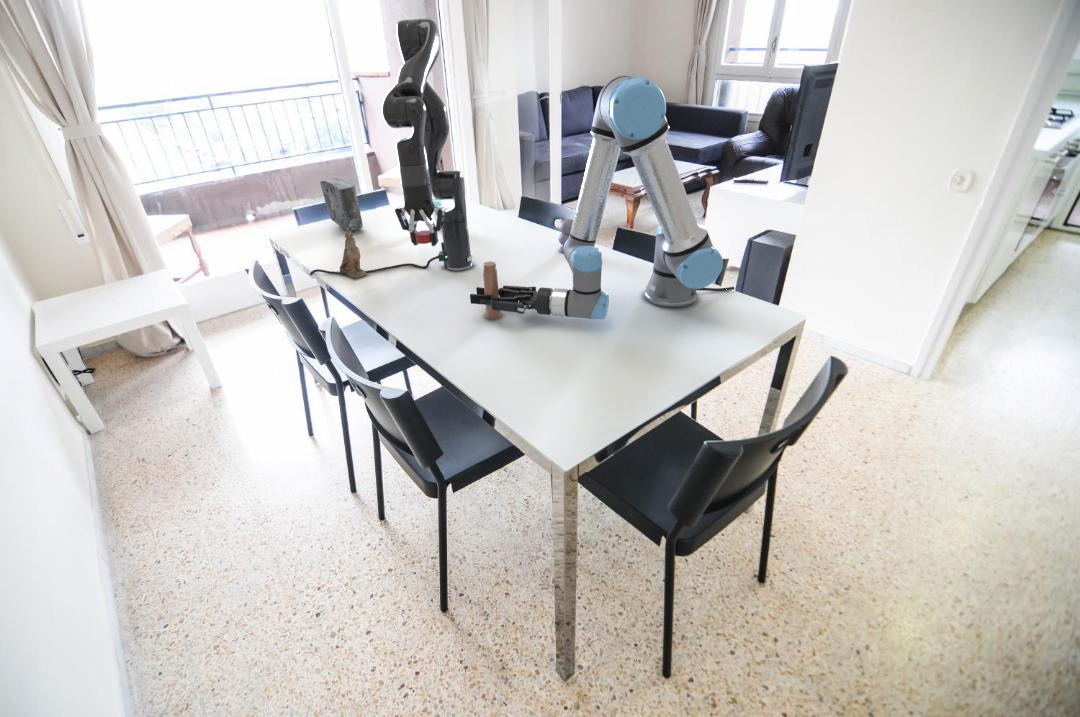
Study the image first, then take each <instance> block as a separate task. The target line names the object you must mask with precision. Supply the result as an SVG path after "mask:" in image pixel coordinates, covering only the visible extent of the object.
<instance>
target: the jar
mask: <svg viewBox="0 0 1080 717" xmlns="http://www.w3.org/2000/svg"><path fill="white" fill-rule="evenodd" d="M482 266H483V268H482V269H483V270H482V280H483V288H484V293H485V295H493V297H499V290H498V289H499V278H498V277H499V276H498V269H497V264H496V261H495V262H494V261H485V262H484V263H483V264H482ZM485 315H486V318H487V319H488V320H497V319H499V318H500V317H501V311H499V310H492V308H491V305H485Z"/></svg>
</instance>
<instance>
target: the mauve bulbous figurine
mask: <svg viewBox="0 0 1080 717" xmlns="http://www.w3.org/2000/svg"><path fill="white" fill-rule="evenodd" d="M559 221H560V225H559V229H560V232H561V233H560V234H559V235H558V243H559V244H560V245H561V246H560V252H561V253H563V254H564V244H565V242H566V241H567V240H568V239H569V236H570V232H571V228H572V224H573V219H571V218H568V219H563V218H559Z"/></svg>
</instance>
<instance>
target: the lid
mask: <svg viewBox="0 0 1080 717" xmlns="http://www.w3.org/2000/svg"><path fill="white" fill-rule="evenodd" d="M430 233H431V232H430V230H420V231H419V230H418V231H417V232H416V233H415V239H416V243H419V244H420V245H426V244H431V238H430ZM419 244H418V245H419Z"/></svg>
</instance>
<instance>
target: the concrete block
mask: <svg viewBox="0 0 1080 717" xmlns="http://www.w3.org/2000/svg"><path fill="white" fill-rule="evenodd" d="M319 183H320V187H321V191H322V195H323V198H324V199H323V200H324V202H325V206H326V209H327V212H328V216H329V218H330V220H332V221H333V222H334V223H336V224H337V225H338V226H339V227H341V228H342V229H343V230H345V231H348V230H350V231H352V232H353V231H354V230H358V229H361V228H363V227H364V224H363V218H362V214H361V210H360V205H359V204H360V203H359V200H358V195H357V194H358V193H357V189H356V186H355V185H354V184H353V183H351V182H350V181H347V180H345V179H341V178H336V177H332V178H327V179H322V180H320V182H319Z"/></svg>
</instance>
